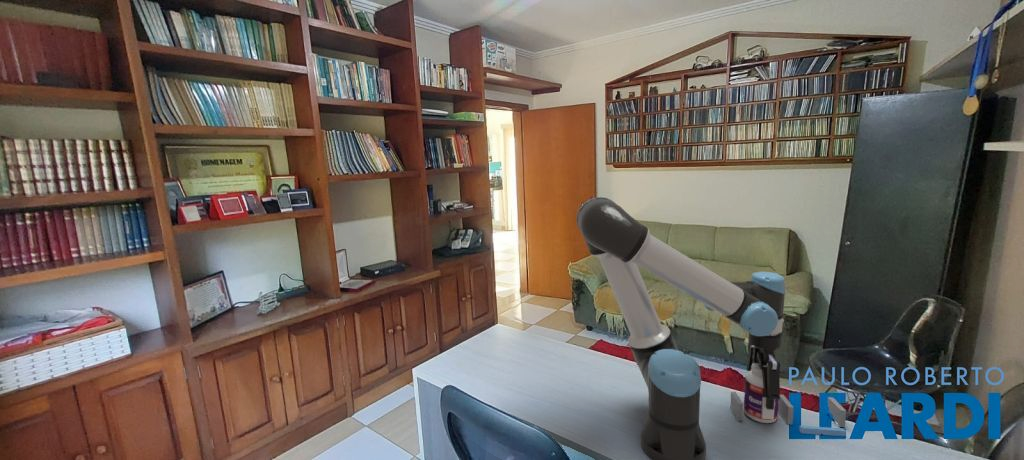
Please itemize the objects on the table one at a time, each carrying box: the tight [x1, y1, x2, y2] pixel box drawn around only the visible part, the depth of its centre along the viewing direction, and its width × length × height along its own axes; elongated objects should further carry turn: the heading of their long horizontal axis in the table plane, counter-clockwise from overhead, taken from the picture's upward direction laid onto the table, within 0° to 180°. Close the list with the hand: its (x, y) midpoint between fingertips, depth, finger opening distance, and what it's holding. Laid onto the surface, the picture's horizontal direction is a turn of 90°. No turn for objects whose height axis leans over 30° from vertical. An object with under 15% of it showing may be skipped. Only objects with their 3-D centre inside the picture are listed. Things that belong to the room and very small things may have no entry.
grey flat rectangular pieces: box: [730, 391, 847, 437], centre depth 109 cm, size 10×26×5 cm, turn 79°
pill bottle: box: [743, 363, 779, 424], centre depth 111 cm, size 8×8×14 cm
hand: (760, 408), depth 112 cm, fingers closed on pill bottle, 8 cm apart
